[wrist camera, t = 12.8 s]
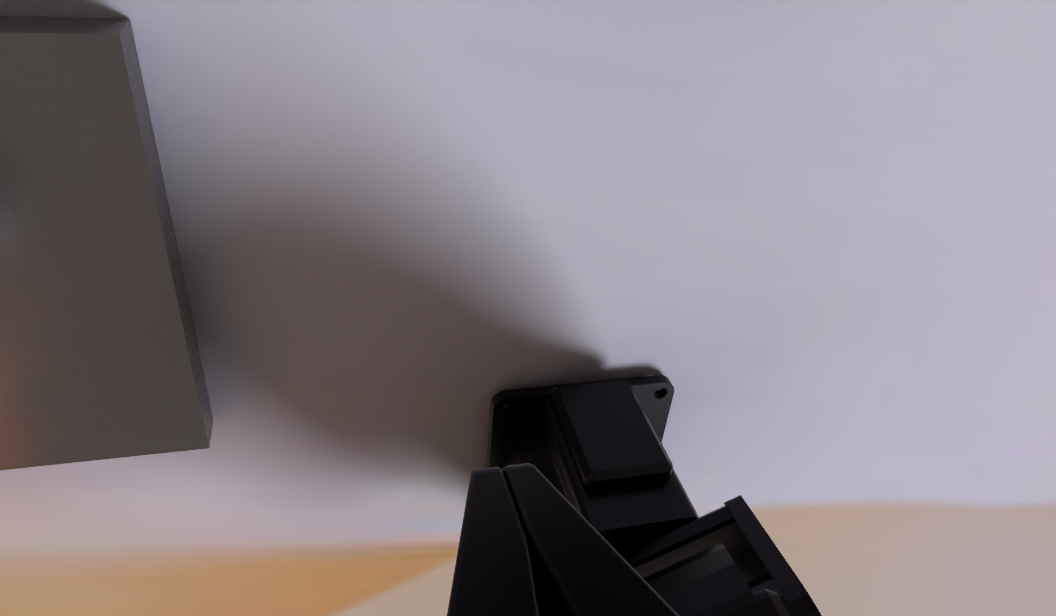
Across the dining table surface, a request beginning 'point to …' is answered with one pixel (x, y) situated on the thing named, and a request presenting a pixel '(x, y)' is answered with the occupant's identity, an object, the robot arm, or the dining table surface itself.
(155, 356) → the stand
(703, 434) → the dining table surface
